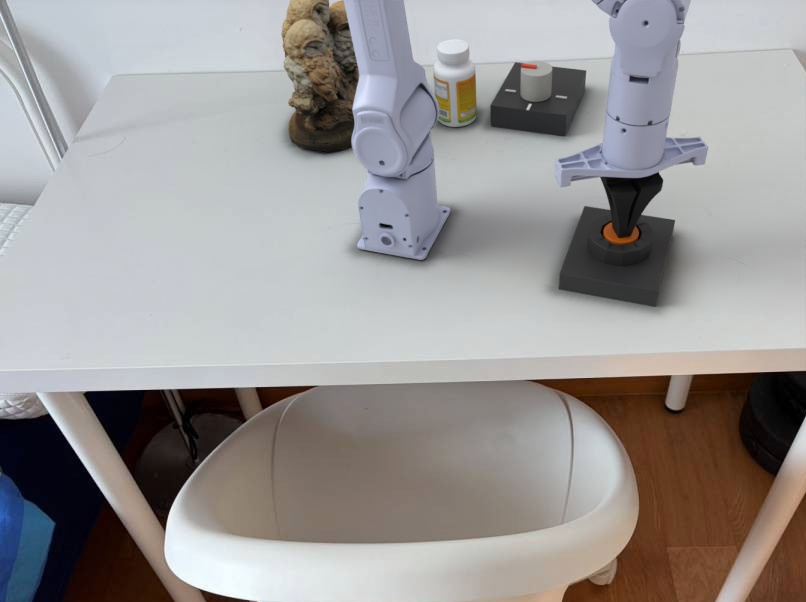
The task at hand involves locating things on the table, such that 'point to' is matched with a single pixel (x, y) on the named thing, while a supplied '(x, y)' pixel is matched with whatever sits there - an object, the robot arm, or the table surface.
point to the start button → (612, 237)
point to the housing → (617, 259)
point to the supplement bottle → (455, 84)
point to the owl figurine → (320, 74)
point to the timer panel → (539, 103)
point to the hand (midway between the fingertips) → (621, 231)
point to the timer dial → (536, 81)
